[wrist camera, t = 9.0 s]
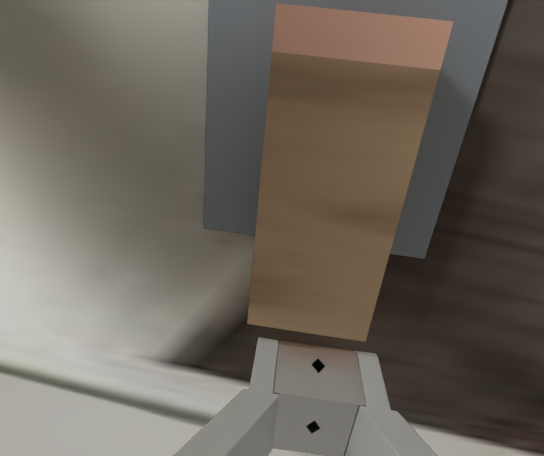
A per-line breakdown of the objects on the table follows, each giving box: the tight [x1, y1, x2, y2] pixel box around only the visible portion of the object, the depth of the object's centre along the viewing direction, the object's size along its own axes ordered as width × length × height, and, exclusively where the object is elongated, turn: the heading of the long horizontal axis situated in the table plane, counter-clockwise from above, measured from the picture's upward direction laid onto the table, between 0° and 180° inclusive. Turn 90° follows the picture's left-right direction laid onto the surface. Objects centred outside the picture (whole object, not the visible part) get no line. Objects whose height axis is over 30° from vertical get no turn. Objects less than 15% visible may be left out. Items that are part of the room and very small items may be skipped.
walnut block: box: [247, 3, 454, 342], centre depth 18 cm, size 6×6×14 cm
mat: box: [204, 0, 508, 259], centre depth 19 cm, size 16×14×1 cm
